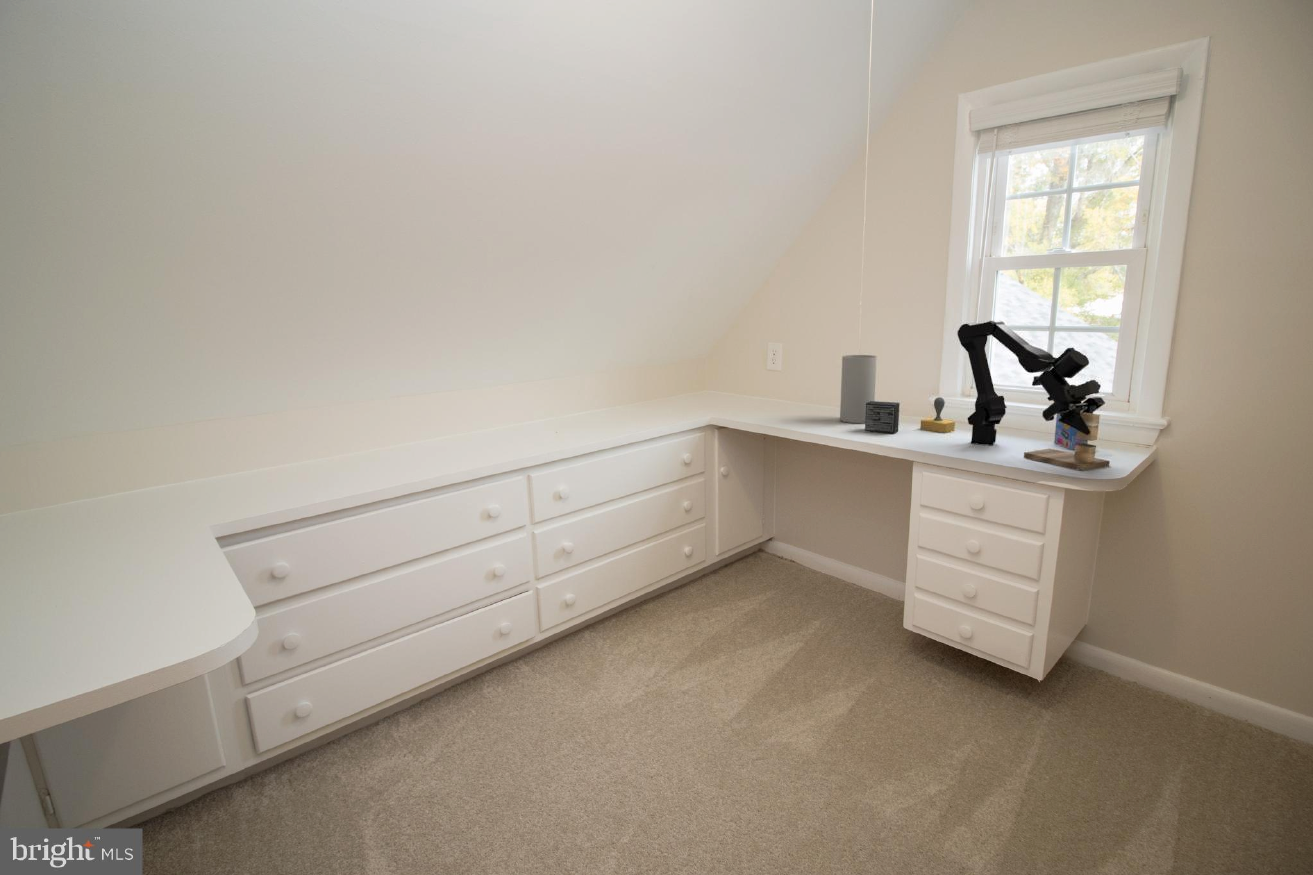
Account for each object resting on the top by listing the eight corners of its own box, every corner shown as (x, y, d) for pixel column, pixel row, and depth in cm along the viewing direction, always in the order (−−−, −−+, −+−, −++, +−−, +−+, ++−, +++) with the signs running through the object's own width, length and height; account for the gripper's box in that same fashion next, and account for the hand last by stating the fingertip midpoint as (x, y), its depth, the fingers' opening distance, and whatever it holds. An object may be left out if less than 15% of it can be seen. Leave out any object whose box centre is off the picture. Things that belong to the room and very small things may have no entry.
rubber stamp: (954, 431, 229) (957, 397, 226) (945, 433, 225) (947, 399, 223) (929, 427, 237) (931, 394, 234) (919, 429, 233) (921, 396, 231)
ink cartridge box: (1052, 442, 208) (1057, 398, 205) (1070, 442, 207) (1075, 398, 204) (1068, 449, 198) (1073, 403, 195) (1087, 449, 198) (1093, 402, 195)
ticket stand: (1023, 457, 190) (1025, 437, 189) (1049, 453, 194) (1051, 433, 193) (1082, 471, 174) (1085, 449, 173) (1109, 466, 179) (1111, 444, 177)
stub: (1076, 438, 179) (1079, 413, 178) (1082, 437, 180) (1085, 412, 179) (1090, 440, 176) (1093, 415, 174) (1096, 439, 177) (1100, 414, 175)
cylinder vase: (857, 416, 260) (859, 354, 254) (880, 421, 249) (883, 356, 243) (833, 420, 254) (835, 356, 249) (855, 425, 243) (858, 358, 238)
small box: (899, 431, 231) (900, 402, 229) (894, 434, 226) (896, 404, 224) (868, 428, 237) (870, 400, 235) (864, 431, 232) (865, 402, 229)
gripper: (1057, 372, 174) (1093, 419, 167) (1102, 368, 181) (1138, 413, 174) (1027, 397, 183) (1060, 443, 175) (1071, 392, 190) (1105, 436, 183)
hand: (1092, 433), depth 177 cm, fingers closed on stub, 2 cm apart
